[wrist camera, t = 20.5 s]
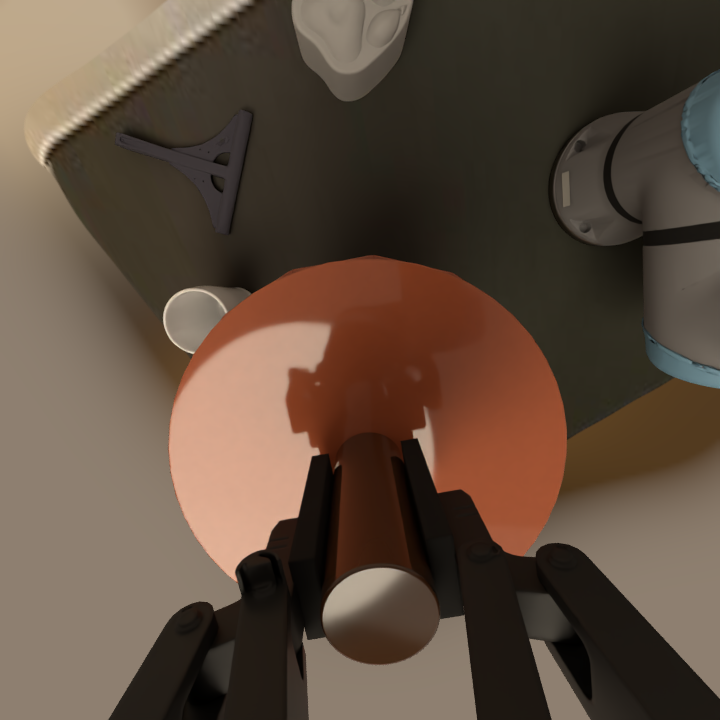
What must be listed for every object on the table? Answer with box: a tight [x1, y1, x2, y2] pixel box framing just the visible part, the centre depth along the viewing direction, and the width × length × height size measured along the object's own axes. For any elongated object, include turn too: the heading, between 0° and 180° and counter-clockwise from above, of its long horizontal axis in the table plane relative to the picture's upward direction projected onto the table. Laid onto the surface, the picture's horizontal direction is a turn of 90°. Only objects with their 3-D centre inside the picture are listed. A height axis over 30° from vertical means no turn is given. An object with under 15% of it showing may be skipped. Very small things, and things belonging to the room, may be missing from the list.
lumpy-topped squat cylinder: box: [292, 0, 413, 101], centre depth 43 cm, size 10×13×9 cm
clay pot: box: [168, 255, 567, 665], centre depth 24 cm, size 19×19×27 cm
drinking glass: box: [163, 286, 251, 354], centre depth 47 cm, size 7×7×15 cm
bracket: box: [115, 110, 253, 235], centre depth 49 cm, size 14×15×3 cm
